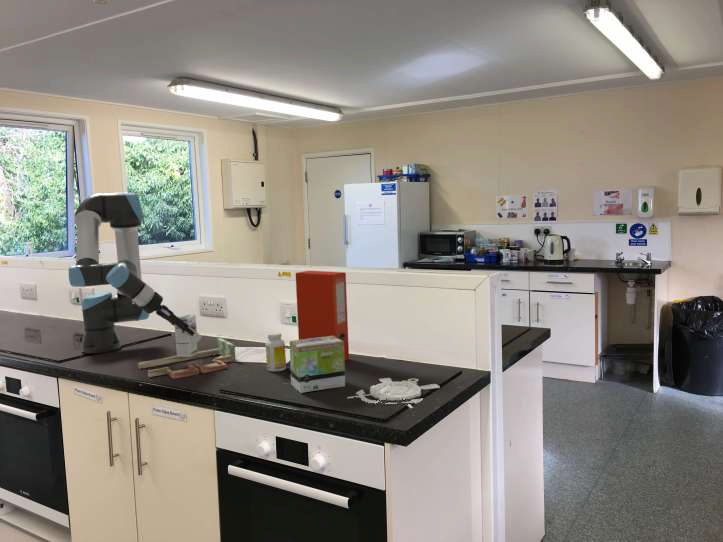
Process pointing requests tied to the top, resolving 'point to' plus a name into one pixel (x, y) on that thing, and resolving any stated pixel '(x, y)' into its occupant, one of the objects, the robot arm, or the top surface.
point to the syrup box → (186, 338)
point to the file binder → (322, 306)
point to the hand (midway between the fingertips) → (195, 337)
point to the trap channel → (193, 368)
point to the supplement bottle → (275, 352)
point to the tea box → (317, 363)
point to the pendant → (395, 391)
